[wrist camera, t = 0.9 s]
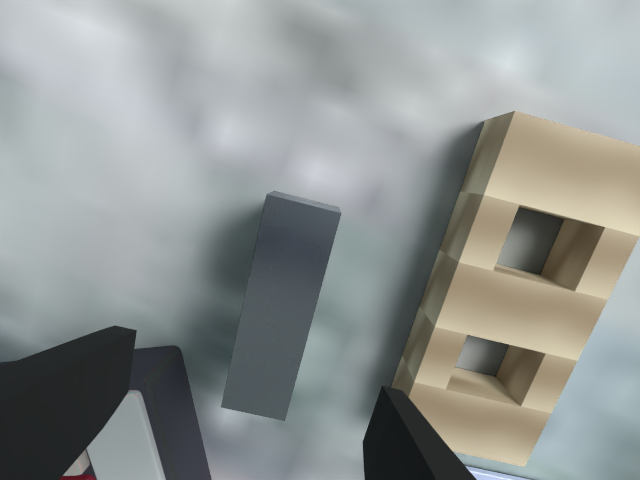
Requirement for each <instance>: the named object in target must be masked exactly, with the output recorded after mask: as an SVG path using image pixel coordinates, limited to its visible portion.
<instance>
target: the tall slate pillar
mask: <svg viewBox="0 0 640 480" xmlns="http://www.w3.org/2000/svg"><path fill="white" fill-rule="evenodd" d="M340 216H341V212H340V210H339V208H338V207H335V206H331V205H327V204H324V203H320V202H316V201H312V200H308V199H304V198H300V197H296V196H292V195H288V194H284V193H281V192H277V191H273V192H271V193H268V194H267V195H266V199H265V204H264V209H263V213H262V218H261V223H260V227H259V232H258V237H257V241H256V246H255V251H254V255H253V260H252V265H251V269H250V274H249V279H248V283H247V288H246V293H245V297H244V302H243V307H242V312H241V316H240V321H239V326H238V330H237V335H236V340H235V344H234V349H233V354H232V358H231V363H230V368H229V372H228V377H227V382H226V386H225V391H224V396H223V400H222V405H221V407H223V408H227V409H232V410H237V411H241V412H246V413H251V414H255V415H260V416H265V417H269V418H274V419H278V420H283V421H285V418H286V414H287V411H288V407H289V403H290V400H291V396H292V392H293V389H294V385H295V381H296V378H297V374H298V370H299V367H300V363H301V359H302V356H303V352H304V348H305V345H306V341H307V337H308V334H309V330H310V326H311V323H312V319H313V315H314V312H315V308H316V304H317V300H318V297H319V293H320V289H321V286H322V282H323V278H324V275H325V271H326V267H327V264H328V260H329V256H330V253H331V249H332V245H333V242H334V238H335V234H336V231H337V227H338V223H339V220H340Z"/></svg>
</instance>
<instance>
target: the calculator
mask: <svg viewBox="0 0 640 480" xmlns="http://www.w3.org/2000/svg"><path fill="white" fill-rule="evenodd" d="M12 362H15V361H12ZM12 362H1V363H0V366H3V365H6V364H9V363H12ZM59 480H211V475H210V471H209V467H208V463H207V458H206V454H205V450H204V446H203V441H202V437H201V433H200V429H199V424H198V420H197V416H196V412H195V407H194V403H193V399H192V395H191V391H190V386H189V382H188V378H187V374H186V369H185V365H184V361H183V357H182V353H181V350H180V349H179V348H178V347H177V346H162V347H152V348H142V349H134V353H133V361H132V369H131V376H130V384H129V391H128V393H127V395H126V396H125V398H124V399H123V401H122V402H121V404H120V405H119V407H118V408H117V409H116V411H115V412H114V414H113V415H112V417H111V418H110V419H109V421H108V422H107V424H106V425H105V426H104V428H103V429H102V430H101V432H100V433H99V434H98V435H97V436H96V438H95V439H94V440H93V441H92V442H91V443H90V445H89V446H88V447H87V448H86V449H85V450H84V452H83V453H82V454H81V455H80V456H79V457H78V459H77V460H76V461H75V462H74V463H73V464H72V466H71V467H70V468H69V469H68V470H67V471H66V472H65V474H64V475H63V476H62V477H61V478H60V479H59Z"/></svg>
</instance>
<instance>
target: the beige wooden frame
mask: <svg viewBox="0 0 640 480" xmlns="http://www.w3.org/2000/svg"><path fill="white" fill-rule="evenodd" d="M518 207H521V208H524V209H528V210H532V211H536V212H539V213H543V214H547V215H551V216H555V217H558V218H562V219H564V221H563V224H562V226H561V228H560V230H559V233H558V235H557V237H556V240H555V242H554V244H553V246H552V249H551V251H550V253H549V256H548V258H547V260H546V262H545V265H544V267H543V269H542V272H541V274H540V275H538V274H534V273H530V272H526V271H522V270H518V269H514V268H510V267H507V266H503V265H499V264H496V262H497V260H498V257H499V255H500V252H501V250H502V247H503V245H504V242H505V240H506V237H507V235H508V232H509V230H510V227H511V225H512V222H513V220H514V217H515V215H516V212H517V210H518ZM639 236H640V146H637V145H634V144H630V143H627V142H623V141H620V140H616V139H613V138H609V137H606V136H602V135H599V134H595V133H591V132H588V131H584V130H581V129H577V128H574V127H570V126H567V125H563V124H560V123H556V122H552V121H549V120H545V119H542V118H538V117H535V116H531V115H528V114H524V113H521V112H517V111H513V112H510V113H507V114H504V115H500V116H497V117H494V118H491V119H487V120H485V122H484V125H483V128H482V130H481V133H480V136H479V139H478V142H477V145H476V147H475V150H474V153H473V156H472V159H471V162H470V164H469V167H468V170H467V173H466V176H465V179H464V181H463V184H462V187H461V190H460V193H459V196H458V198H457V201H456V204H455V207H454V210H453V212H452V215H451V218H450V221H449V224H448V227H447V229H446V232H445V235H444V238H443V241H442V244H441V246H440V249H439V252H438V255H437V258H436V261H435V263H434V266H433V269H432V272H431V275H430V278H429V280H428V283H427V286H426V289H425V292H424V295H423V297H422V300H421V303H420V306H419V309H418V312H417V314H416V317H415V320H414V323H413V326H412V329H411V331H410V334H409V337H408V340H407V343H406V345H405V348H404V351H403V354H402V357H401V360H400V362H399V365H398V368H397V371H396V374H395V377H394V379H393V382H392V385H391V388H395V389H399V390H402V391H403V392H404V393H405V394H406V395H407V396H408V397H409V399H410V400H411V401H412V402H413V403H414V405H415V406H416V407H417V408H418V410H419V411H420V412H421V413H422V415H423V416H424V417H425V418H426V419H427V421H428V422H429V423H430V424H431V426H432V427H433V428H434V429H435V431H436V432H437V433H438V434H439V436H440V437H441V438H442V439H443V440H444V442H445V443H446V444H447V445H448V446H449V448H450V449H451V450H452V451H453V452H458V453H462V454H467V455H472V456H476V457H481V458H486V459H490V460H495V461H500V462H504V463H509V464H513V465H518V466H523V467H525V465H526V463H527V461H528V459H529V457H530V455H531V453H532V451H533V449H534V447H535V445H536V443H537V441H538V439H539V437H540V435H541V433H542V431H543V429H544V427H545V425H546V423H547V421H548V419H549V417H550V415H551V413H552V411H553V409H554V407H555V405H556V403H557V401H558V399H559V397H560V395H561V393H562V391H563V389H564V387H565V385H566V383H567V381H568V379H569V377H570V375H571V373H572V371H573V369H574V367H575V365H576V363H577V361H578V359H579V357H580V355H581V353H582V351H583V349H584V347H585V345H586V343H587V341H588V339H589V337H590V335H591V333H592V331H593V329H594V327H595V325H596V323H597V321H598V319H599V317H600V315H601V313H602V311H603V308H604V306H605V304H606V302H607V300H608V298H609V296H610V294H611V292H612V290H613V288H614V286H615V284H616V282H617V280H618V278H619V276H620V274H621V272H622V270H623V268H624V266H625V264H626V262H627V260H628V258H629V256H630V254H631V252H632V250H633V248H634V246H635V244H636V242H637V240H638V238H639ZM467 335H471V336H475V337H480V338H484V339H488V340H492V341H496V342H501V343H505V344H509V347H508V349H507V352H506V354H505V356H504V358H503V361H502V363H501V365H500V368H499V370H498V372H497V374H496V377H495V376H491V375H486V374H482V373H478V372H473V371H469V370H465V369H461V368H456V367H455V365H456V362H457V360H458V357H459V355H460V352H461V350H462V347H463V345H464V342H465V340H466V337H467Z"/></svg>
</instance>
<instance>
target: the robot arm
mask: <svg viewBox="0 0 640 480" xmlns="http://www.w3.org/2000/svg"><path fill="white" fill-rule="evenodd" d="M136 331H137V330H132V329H128V328H123V327H119V326H112V327H109V328H105V329H102V330H100V331H97V332H94V333H91V334H88V335H86V336H83V337H80V338H78V339H75V340H72V341H70V342H67V343H64V344H61V345H59V346H56V347H53V348H51V349H48V350H45V351H42V352H40V353H37V354H34V355H31V356H29V357H26V358H23V359H21V360H18V361H15V362H12V363H9V364H6V365H3V366H0V480H59V479H60V478H61V477H62V476H63V475H64V474H65V472H66V471H67V470H68V469H69V468H70V467H71V466H72V464H73V463H74V462H75V461H76V460H77V459H78V457H79V456H80V455H81V454H82V453H83V452H84V450H85V449H86V448H87V447H88V446H89V445H90V443H91V442H92V441H93V440H94V439H95V438H96V436H97V435H98V434H99V433H100V432H101V430H102V429H103V428H104V426H105V425H106V424H107V422H108V421H109V419H110V418H111V417H112V415H113V414H114V412H115V411H116V409H117V408H118V407H119V405H120V404H121V402H122V401H123V399H124V398H125V396H126V395H127V393H128V391H129V384H130V376H131V369H132V361H133V353H134V346H135V338H136ZM363 457H364V474H365V480H530V479H525V478H520V477H516V476H511V475H506V474H502V473H497V472H492V471H487V470H483V469H478V468H473V467H469V466H465V465H464V464H463V463H462V462H461V461H460V460H459V458H458V457H457V456H456V455H455V454H454V452H453V451H452V450H451V449H450V448H449V446H448V445H447V444H446V443H445V442H444V440H443V439H442V438H441V437H440V436H439V434H438V433H437V432H436V431H435V429H434V428H433V427H432V426H431V424H430V423H429V422H428V421H427V419H426V418H425V417H424V416H423V415H422V413H421V412H420V411H419V410H418V408H417V407H416V406H415V405H414V403H413V402H412V401H411V400H410V399H409V397H408V396H407V395H406V394H405V393H404V392H403V391H402V390H399V389H395V388H390V387H386V386H382V388H381V391H380V394H379V397H378V399H377V402H376V405H375V408H374V411H373V414H372V417H371V420H370V423H369V425H368V428H367V431H366V434H365V437H364V440H363Z"/></svg>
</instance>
